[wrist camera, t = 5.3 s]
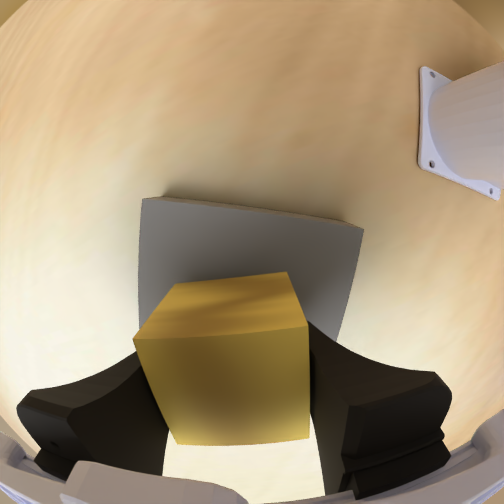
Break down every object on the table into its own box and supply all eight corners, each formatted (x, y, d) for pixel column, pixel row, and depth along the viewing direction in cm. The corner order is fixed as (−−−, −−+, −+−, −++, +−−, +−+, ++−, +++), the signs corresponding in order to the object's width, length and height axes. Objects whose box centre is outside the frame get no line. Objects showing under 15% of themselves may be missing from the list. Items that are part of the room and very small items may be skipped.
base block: (342, 220, 16) (364, 229, 13) (306, 369, 19) (315, 400, 15) (163, 196, 16) (142, 198, 12) (158, 350, 18) (143, 379, 15)
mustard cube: (286, 271, 12) (308, 325, 7) (293, 364, 13) (309, 438, 8) (175, 283, 12) (132, 339, 7) (197, 372, 13) (177, 444, 8)
